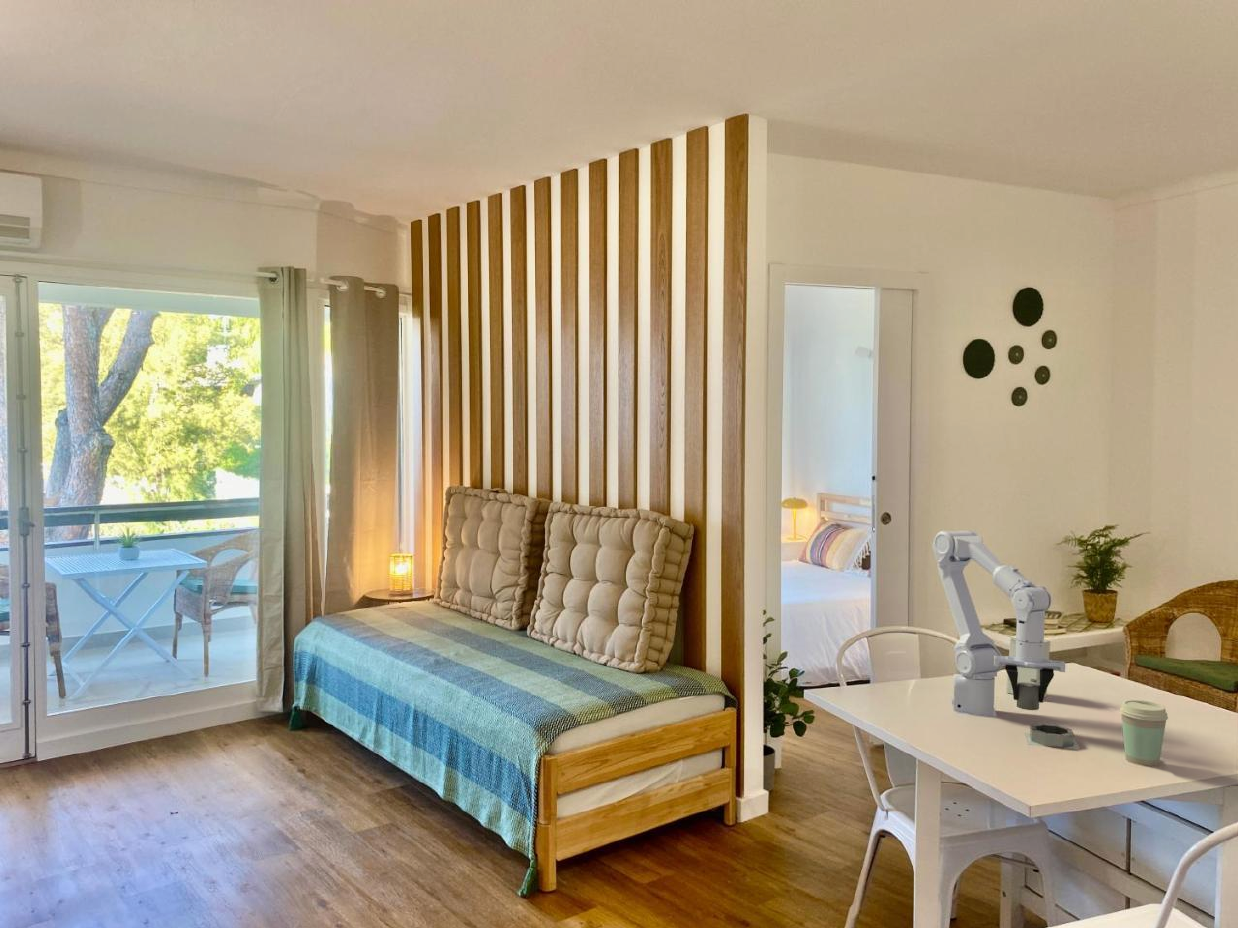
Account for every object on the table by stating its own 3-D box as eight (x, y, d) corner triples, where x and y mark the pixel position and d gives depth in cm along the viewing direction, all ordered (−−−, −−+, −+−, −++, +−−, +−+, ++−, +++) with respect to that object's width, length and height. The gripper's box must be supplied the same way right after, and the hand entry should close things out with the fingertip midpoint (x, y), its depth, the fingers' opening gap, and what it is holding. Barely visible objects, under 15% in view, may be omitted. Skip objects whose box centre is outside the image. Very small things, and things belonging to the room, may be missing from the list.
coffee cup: (1176, 770, 184) (1178, 711, 184) (1135, 771, 184) (1137, 711, 183) (1148, 756, 193) (1150, 699, 192) (1109, 756, 192) (1110, 699, 192)
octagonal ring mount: (1032, 744, 197) (1033, 732, 197) (1028, 733, 205) (1029, 721, 205) (1075, 749, 195) (1075, 737, 195) (1069, 737, 202) (1070, 726, 202)
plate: (1028, 746, 198) (1028, 743, 198) (1024, 735, 205) (1024, 732, 205) (1079, 752, 194) (1079, 749, 194) (1074, 740, 202) (1074, 738, 202)
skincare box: (1005, 693, 241) (1007, 636, 240) (1018, 689, 244) (1019, 633, 244) (1037, 700, 234) (1038, 641, 234) (1049, 696, 238) (1051, 639, 237)
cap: (1017, 708, 207) (1018, 685, 207) (1015, 703, 212) (1016, 680, 211) (1040, 711, 206) (1040, 687, 206) (1037, 705, 210) (1038, 682, 210)
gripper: (996, 640, 207) (994, 701, 207) (1068, 646, 202) (1065, 708, 203) (994, 634, 213) (992, 693, 214) (1063, 640, 209) (1061, 699, 209)
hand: (1027, 700), depth 209 cm, fingers closed on cap, 5 cm apart
